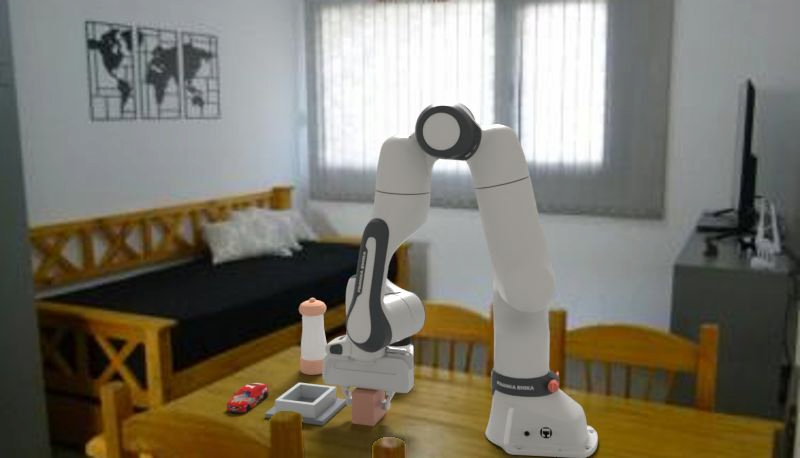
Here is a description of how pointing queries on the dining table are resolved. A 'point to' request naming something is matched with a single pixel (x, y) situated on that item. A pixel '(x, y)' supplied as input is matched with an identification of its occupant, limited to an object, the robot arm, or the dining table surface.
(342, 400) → the square socket base
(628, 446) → the dining table surface
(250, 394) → the race car
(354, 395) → the pink upright box
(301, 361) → the salt shaker
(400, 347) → the container
